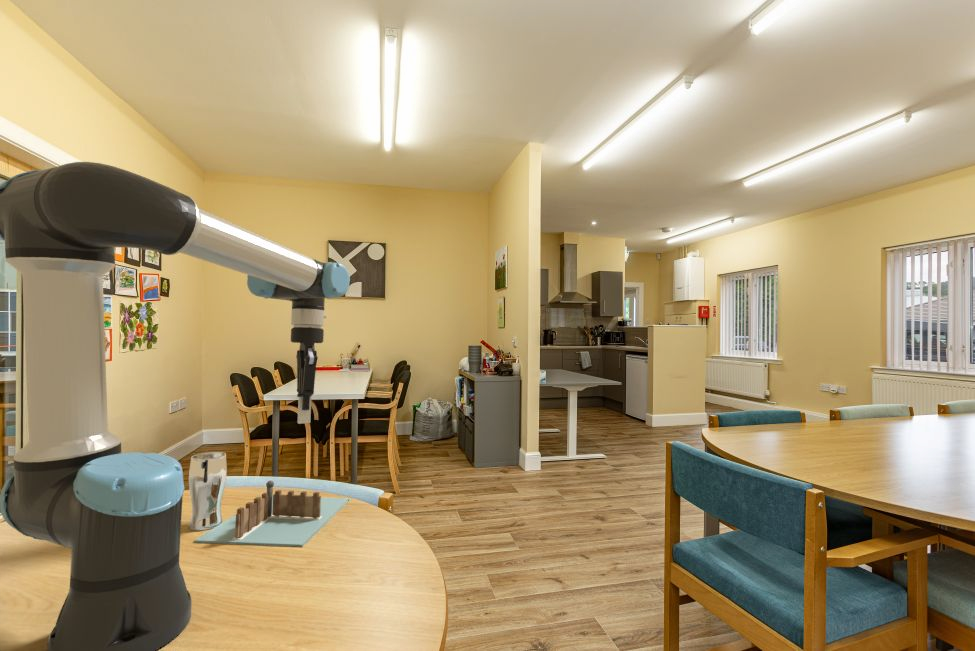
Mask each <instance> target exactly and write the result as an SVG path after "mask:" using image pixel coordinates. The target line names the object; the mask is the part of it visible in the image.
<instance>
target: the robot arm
mask: <svg viewBox="0 0 975 651" xmlns="http://www.w3.org/2000/svg"><path fill="white" fill-rule="evenodd" d="M0 238H1V239H2V240H3V241H4V250H5V251H4V254H5V262H6V263H7V264H9V265H10V266H11V267H13V268H14V269H15V270H17V271H18V272H19V273H20V274H21V278H22V297H23V299H22V300H23V303H22V304H23V323H24V324H23V326H24V328H23V329H24V350H25V351H24V352H25V353H24V354H25V373H26V374H25V375H26V376H25V378H26V381H25V382H26V405H27V423H28V424H27V428H28V429H27V430H28V441H27V443H26V444H25V445H24V446H23V447H22V448H21V449H20V450H18V451H17V452H16V453H15V454H14V455H13V474H12V475H11V476H10V477H9V478H7V479H6V481H5V483H4V484H3V486H2V489H1V491H0V514H1V517H3V519H4V520H5V522H6V523H7V524H8V525H9V526H10V527H11V528H12V529H14V530H16V531H17V532H18V533H20V534H21V535H23V536H26V537H29V538H30V537H31V538H32V539H34V540H39V541H40V540H41V541H46V542H50V543H52V544H53V543H54V544H56V545H58V546H63V547H65V548H68V549H71V555H70V557H71V559H70V560H71V561H70V576H69V578H70V579H69V580H70V581H69V589H68V593H67V595H66V597H65V600H64V602H63V604H62V607H61V609H60V612H59V614H58V617H57V619H56V622H55V625H54V627H53V628H52V630H51V632H50V634H49V636H48V639H47V644H46V651H155V650H156V651H158V650H159V649H161V648H163V647H164V646H166V645H167V644H169V643H170V642H172V641H173V640H174V639H175V638H177V637H178V636H179V635H180V634H181V633H182V632H183V631H184V630H185V629H186V627H188V624H189V623H190V620H191V618H192V605H193V604H192V603H193V601H192V596H191V594H190V592H189V590H188V589H187V584H186V582H185V579H184V575H183V572H182V569H181V565H180V554H181V553H180V552H181V551H180V549H181V531H182V516H183V515H182V514H183V512H182V511H183V496H184V492H185V485H184V484H185V483H184V474H183V473H184V472H183V467H182V464H181V463H180V462H179V461H178V460H177V459H175V458H174V457H172V456H170V455H166V454H163V453H155V452H146V453H142V452H137V451H136V452H123V453H122V439H121V438H120V437H119V436H117V435H115V434H114V433H113V432H111V431H110V430H109V427H108V426H109V424H108V394H107V390H108V389H107V367H106V366H107V365H106V363H107V362H106V338H105V334H106V333H105V332H106V331H105V310H104V308H105V307H104V305H105V304H104V302H105V301H104V277H105V275H107V274H108V273H109V272H111V271H112V270H113V269H115V267H116V250H115V249H116V248H129V249H130V248H132V249H142V250H147V251H152V252H156V253H159V254H162V255H165V256H173V255H174V256H175V255H178V254H179V253H180V254H183V255H187V256H189V257H193V258H195V259H198V260H201V261H204V262H207V263H211V264H214V265H217V266H220V267H224V268H225V269H226V268H227V269H228V270H232V271H234V272H239V273H241V274H245V275H247V276H246V277H247V279H246V280H247V282H246V285H247V288H248V291H250V293H251V294H252V295H253V296H255V297H259V298H260V297H261V298H264V299H273V300H280V301H281V300H282V301H289V302H291V314H290V315H291V316H290V317H291V318H290V320H291V321H290V322H291V323H290V325H292V326H293V327H292V328H291V329H290V342H291V343H292V344H293V343H297V344H298V343H299V349H297V351H296V357H295V358H296V364H297V365H296V366H297V367H296V380H297V381H296V393H297V394H296V395H297V396H296V397H297V399H298V402H297V404H298V406H297V424H299V425H301V424H311V419H312V418H311V414H312V396H313V395H314V394H315V384H316V383H315V381H316V373H317V371H316V370H317V362H318V353H317V350H315V344H322V343H323V342H324V335H325V334H324V331H325V330H324V329H323V328H322V327H324V326H325V324H324V323H325V319H327V314H325V300H326V299H328V300H329V299H332V298H333V299H334V298H340V297H343V296H344V295H346V293H348V290H349V288H350V282H351V278H350V273H349V271H348V268H346V266H345V265H344V264H342V263H339V262H332V261H327V262H323V261H322V262H321V261H319V260H317V259H314V258H313V257H310V256H308V255H305V254H303V253H300V252H299V251H296V250H294V249H292V248H289V247H287V246H285V245H283V244H281V243H279V242H276V241H273V240H271V239H269V238H266V237H264V236H262V235H260V234H257V233H256V232H253V231H252V230H249V229H247V228H244V227H242V226H240V225H238V224H236V223H233V222H231V221H229V220H227V219H224V218H222V217H221V216H217V215H215V214H212V213H211V212H208V211H206V210H203V209H201V208H199V207H198V205H197V202H196V201H195V200H194V199H193V198H192V197H191V196H188V195H186V194H184V193H182V192H179V191H177V190H175V189H174V188H172V187H169V186H168V185H167V186H166V185H164V184H162V183H160V182H157V181H155V180H152V179H150V178H148V177H146V176H142V175H140V174H137V173H134V172H133V171H132V172H131V171H129V170H126V169H123V168H120V167H117V166H114V165H110V164H105V163H100V162H92V161H75V162H70V163H69V162H68V163H65V164H64V163H63V164H61V165H59V166H54V167H53V166H52V167H50V168H46V169H38V170H37V169H36V170H29V171H26V172H22V173H18V174H15V175H14V176H11V177H10V178H8V179H7V180H5V181H3V182H2V183H0ZM177 635H178V636H177ZM172 639H173V640H172ZM168 642H169V643H168ZM160 647H161V648H160Z"/></svg>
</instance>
